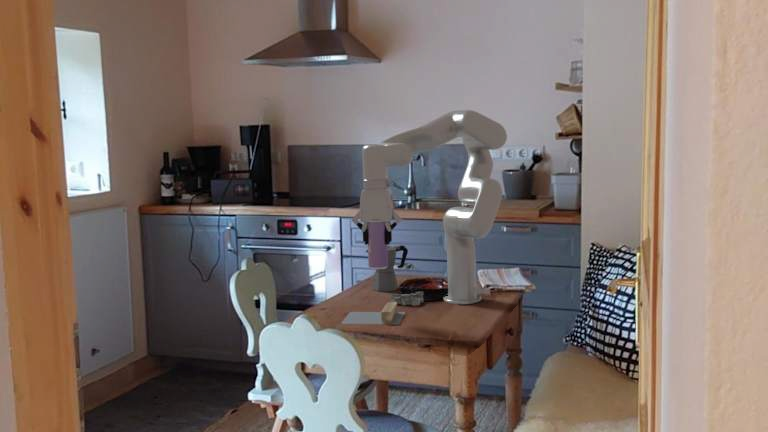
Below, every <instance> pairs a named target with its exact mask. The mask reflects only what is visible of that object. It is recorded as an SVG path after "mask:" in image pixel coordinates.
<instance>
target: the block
mask: <svg viewBox="0 0 768 432" xmlns="http://www.w3.org/2000/svg"><path fill="white" fill-rule="evenodd" d="M380 312H381V319H382V323H392V322H393V320H394V318H395V316H396V314H397V312H398V304H397V302H391V301H387V302H386V303H385V305H384V307H383V308H382V310H381V311H380Z"/></svg>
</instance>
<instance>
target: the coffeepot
mask: <svg viewBox="0 0 768 432" xmlns="http://www.w3.org/2000/svg"><path fill="white" fill-rule="evenodd" d="M387 251H388V266H387V268H385V269H375V271H374V277H373V286H372V290H373V291H374V292H381V293H386V292H387V293H388V292H394V291H396V290H398V288H399V286H398V282H397V281H398V280H397V275H396V272H395V269H394V267H395V266H396V257H397V256H396V255H397V252H401V251H402V255H401V259H400V265H397V268H398V269H402V268H404V266H405V262H406V260H407V256H408V253H409V250H408V248H407V247H406V246H404V245H403V244H402V245H394V246H390V245H387ZM365 252H366V253H367V254H368V249H366V251H365Z"/></svg>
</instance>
